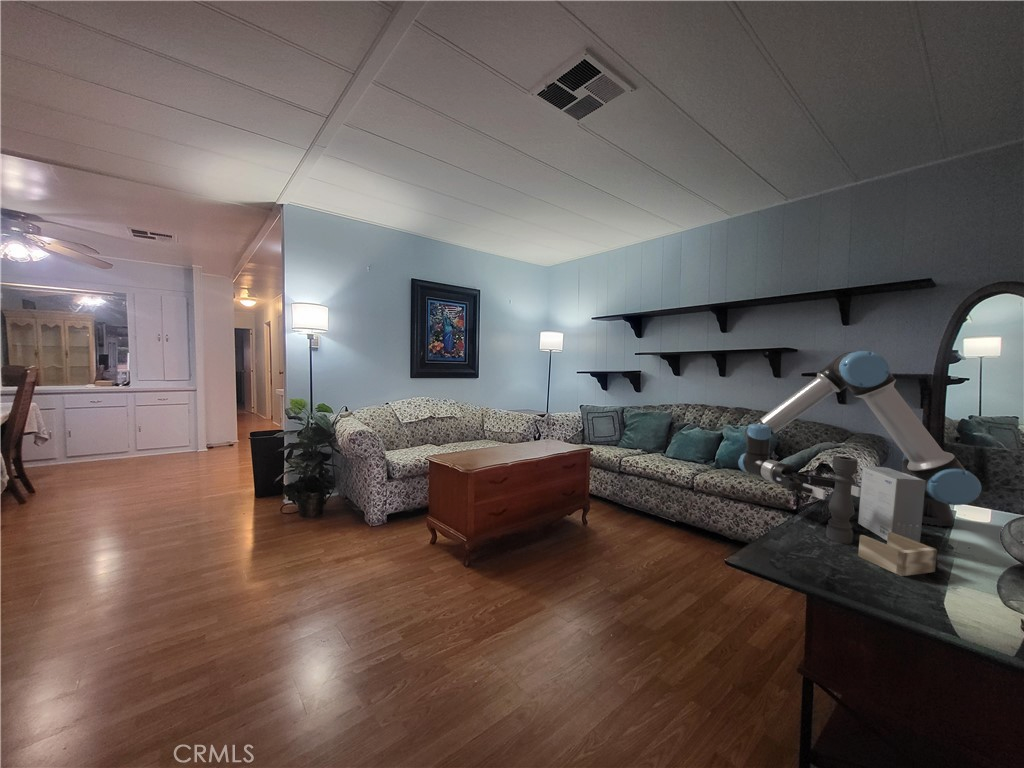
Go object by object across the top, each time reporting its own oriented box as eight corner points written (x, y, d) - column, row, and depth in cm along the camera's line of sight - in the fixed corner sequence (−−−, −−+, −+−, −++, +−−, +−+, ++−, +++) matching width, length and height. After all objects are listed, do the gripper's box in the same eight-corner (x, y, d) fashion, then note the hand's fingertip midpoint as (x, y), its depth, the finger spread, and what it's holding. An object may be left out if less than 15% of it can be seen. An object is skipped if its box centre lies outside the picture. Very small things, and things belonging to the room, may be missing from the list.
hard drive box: (921, 547, 115) (927, 480, 114) (890, 544, 117) (896, 478, 115) (882, 525, 130) (888, 466, 129) (856, 523, 132) (861, 464, 130)
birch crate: (889, 552, 111) (891, 532, 111) (934, 571, 101) (937, 549, 101) (858, 556, 109) (859, 535, 108) (901, 576, 99) (903, 553, 98)
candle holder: (827, 532, 124) (833, 454, 122) (853, 539, 119) (860, 458, 118) (824, 538, 119) (830, 457, 118) (851, 545, 115) (857, 462, 113)
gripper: (807, 481, 142) (872, 503, 121) (749, 485, 136) (808, 508, 116) (808, 461, 141) (874, 479, 121) (750, 464, 136) (810, 483, 115)
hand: (842, 493), depth 118 cm, fingers open, 13 cm apart
